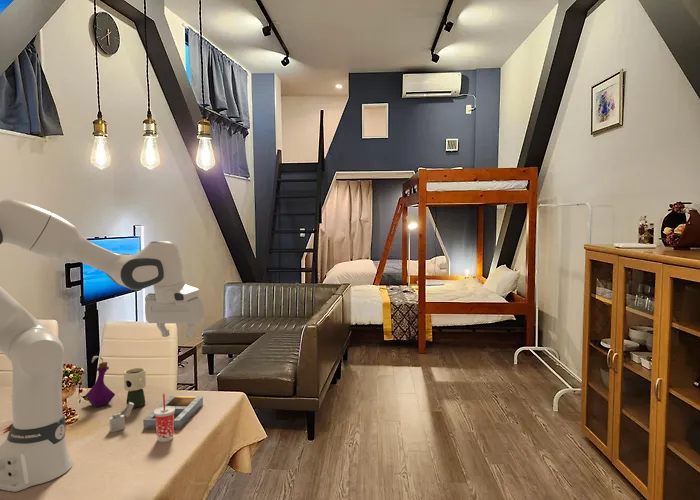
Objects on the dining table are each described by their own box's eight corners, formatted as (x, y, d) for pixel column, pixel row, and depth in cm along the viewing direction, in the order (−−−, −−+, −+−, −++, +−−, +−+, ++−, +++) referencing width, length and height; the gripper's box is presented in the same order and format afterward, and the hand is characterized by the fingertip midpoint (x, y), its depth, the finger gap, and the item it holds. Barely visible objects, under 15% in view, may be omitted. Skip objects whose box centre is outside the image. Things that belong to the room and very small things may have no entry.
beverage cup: (172, 442, 141) (170, 397, 140) (151, 443, 141) (149, 398, 140) (178, 433, 147) (177, 390, 146) (158, 434, 147) (157, 390, 146)
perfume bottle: (105, 398, 176) (103, 351, 175) (115, 403, 172) (113, 355, 171) (84, 405, 170) (82, 356, 169) (94, 409, 166) (92, 360, 165)
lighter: (111, 432, 148) (109, 408, 148) (109, 430, 150) (108, 406, 149) (135, 426, 153) (134, 402, 152) (133, 424, 154) (132, 400, 153)
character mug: (120, 404, 171) (118, 369, 170) (140, 398, 176) (138, 365, 175) (131, 413, 163) (130, 376, 162) (152, 407, 168) (150, 371, 167)
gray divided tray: (143, 428, 151) (143, 419, 151) (170, 404, 171) (170, 396, 170) (179, 429, 150) (179, 420, 150) (202, 404, 170) (202, 396, 170)
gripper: (136, 296, 143) (144, 339, 145) (190, 295, 135) (197, 340, 137) (152, 290, 149) (159, 332, 151) (204, 289, 141) (211, 333, 143)
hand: (178, 336), depth 144 cm, fingers open, 8 cm apart
